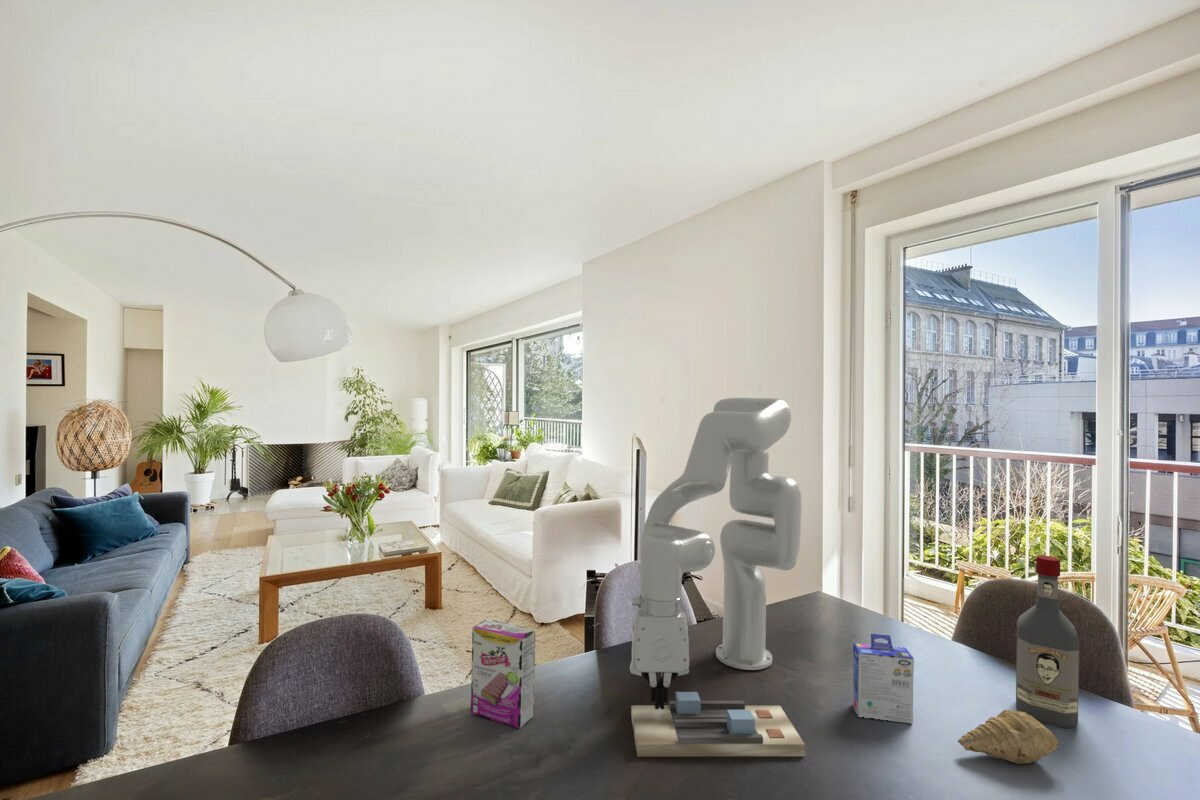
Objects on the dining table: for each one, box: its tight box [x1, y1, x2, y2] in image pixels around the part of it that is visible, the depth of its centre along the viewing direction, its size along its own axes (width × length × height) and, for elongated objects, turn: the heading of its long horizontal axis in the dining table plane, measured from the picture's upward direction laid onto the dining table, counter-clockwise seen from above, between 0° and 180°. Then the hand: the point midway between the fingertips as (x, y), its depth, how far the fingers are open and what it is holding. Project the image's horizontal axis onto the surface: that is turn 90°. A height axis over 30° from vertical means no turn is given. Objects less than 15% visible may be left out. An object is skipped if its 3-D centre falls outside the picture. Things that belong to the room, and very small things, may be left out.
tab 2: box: [727, 710, 755, 734], centre depth 97 cm, size 3×4×3 cm
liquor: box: [1015, 554, 1080, 729], centre depth 109 cm, size 9×9×30 cm
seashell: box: [957, 709, 1059, 765], centre depth 95 cm, size 14×8×8 cm, turn 93°
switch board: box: [630, 700, 806, 757], centre depth 100 cm, size 12×28×3 cm, turn 92°
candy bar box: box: [470, 618, 536, 729], centre depth 105 cm, size 11×5×16 cm, turn 65°
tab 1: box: [675, 691, 702, 714], centre depth 103 cm, size 3×4×3 cm
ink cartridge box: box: [852, 633, 915, 724], centre depth 108 cm, size 10×6×14 cm, turn 78°
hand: (658, 705), depth 103 cm, fingers closed
